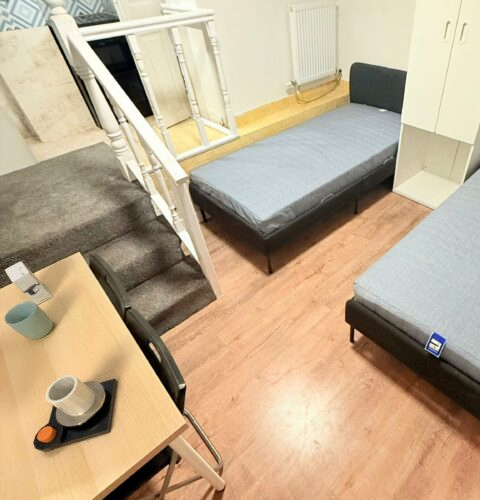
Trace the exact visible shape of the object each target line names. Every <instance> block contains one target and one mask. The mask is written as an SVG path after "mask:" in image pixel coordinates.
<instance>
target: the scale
mask: <svg viewBox="0 0 480 500" xmlns="http://www.w3.org/2000/svg"><path fill="white" fill-rule="evenodd" d="M99 383H100V384H101V385H102V386H103V387H104V389H105V400H104V402H103V405H102V406H101V408H100V410H99V411H98V412H97V413H96V414H95V415H94V416H93V417H92V418H91V419H90V420H88V421H87V422H85V423H83V424H81V425H78V426H75V427H66V426H63V425H61V424H60V423H59V422H58V421H57V418H56V410H57V407H55V406H54V405H52V408H51V411H50V416H49V419H48V423H46V424H45V425H44V426H42V427H41V428H40V429H39V430H38V431H37V433H36V434H35V436H34V439H33V442H32V443H33V444H32V445H33V447H34V449H35V450H38V451H39V452H43V453H49V452H52V451H54V450H56V449H60V448H63V447H66V446H69V445H74V444H76V443H79V442H83V441H86V440H91V439H94V438H96V437H100V436H103V435H107V434H110V433H111V431H112V425H113V424H112V423H113V416H114V410H115V403H116V397H117V389H118V383H119V381H118V380H117V379H116V378H112V379H108V380H105V381H101V382H99ZM47 426H50V427H52V428H54V429H56V431H57V433H56V436H55V437H54V439H53V440H51V441H50V442H48V443H43V442H41V441H39V440H38V439H37V435H38V433H39V432H40V430H41V429H43V428H44V427H47Z"/></svg>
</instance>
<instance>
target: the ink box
mask: <svg viewBox="0 0 480 500" xmlns="http://www.w3.org/2000/svg"><path fill="white" fill-rule="evenodd" d="M4 271H5V273H6V275H7V276H8V278H9V280H10V281H11V283H12V284H14V286H16V287H17V288H18V289H19V291H21V292H22V293H23V294H24V295H25V296H26V297H27V298H28V299H29V300H31V302H34V303H35V304H37V305H38V306H39V305H40V304H42V303H44V302H46V301H47V300H49V299H51V298H52V297H53V295H52V293H51V292H50V291H49V290H48V288H47V287H46V286H45V284H44V283H43V282H42V281H41V280H40V279H39V278H38V277H37V276H36V275H35V274H34V273H33V272H32V271H31V270H30V268H28V266H26V265H25V263H24V262H23V261H21V260H20V261H19V262H16V263H13V265H10V266H9V267H7V268H5V269H4Z"/></svg>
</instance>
